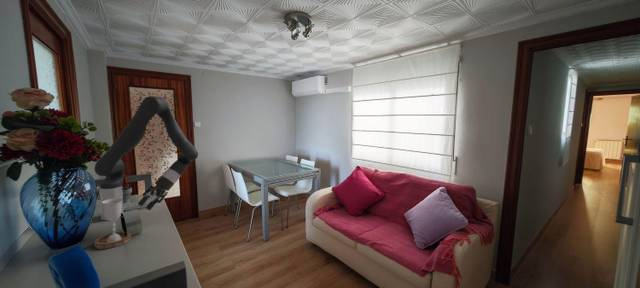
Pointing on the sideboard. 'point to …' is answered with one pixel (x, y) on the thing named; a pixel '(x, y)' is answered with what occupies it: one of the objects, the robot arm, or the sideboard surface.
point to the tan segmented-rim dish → (102, 242)
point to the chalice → (113, 215)
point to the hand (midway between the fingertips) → (143, 207)
